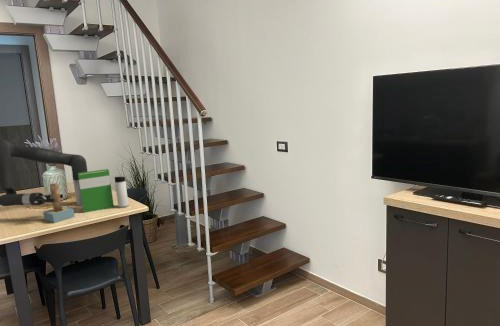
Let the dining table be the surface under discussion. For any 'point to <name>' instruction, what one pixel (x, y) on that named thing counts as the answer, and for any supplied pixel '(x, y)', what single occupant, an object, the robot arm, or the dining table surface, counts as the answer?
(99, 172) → the hardback book
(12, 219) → the dining table surface
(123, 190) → the travel mug
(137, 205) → the dining table surface
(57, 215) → the socket block
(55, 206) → the peg
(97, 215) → the dining table surface
